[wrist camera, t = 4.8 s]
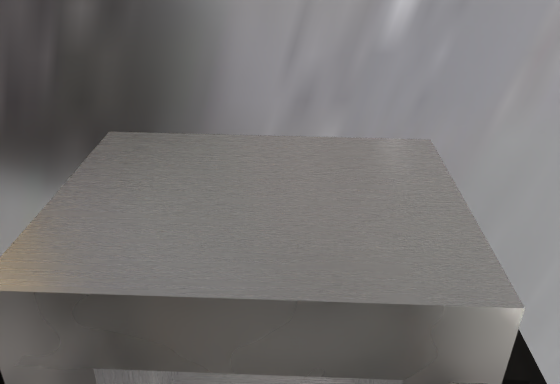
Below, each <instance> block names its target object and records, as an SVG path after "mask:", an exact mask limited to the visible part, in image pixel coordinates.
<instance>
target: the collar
mask: <svg viewBox="0 0 560 384" xmlns="http://www.w3.org/2000/svg"><path fill="white" fill-rule="evenodd" d="M524 310H525V308H524V306H523V304H522V302H521V300H520V299H519V297H518V295H517V293H516V291H515V290H514V288H513V286H512V284H511V283H510V281H509V279H508V277H507V275H506V274H505V272H504V270H503V268H502V266H501V265H500V263H499V261H498V259H497V257H496V256H495V254H494V252H493V250H492V249H491V247H490V245H489V243H488V241H487V240H486V238H485V236H484V234H483V232H482V231H481V229H480V227H479V225H478V224H477V222H476V220H475V218H474V216H473V215H472V213H471V211H470V209H469V207H468V206H467V204H466V202H465V200H464V199H463V197H462V195H461V193H460V191H459V190H458V188H457V186H456V184H455V182H454V181H453V179H452V177H451V175H450V174H449V172H448V170H447V168H446V166H445V165H444V163H443V161H442V159H441V157H440V156H439V154H438V152H437V150H436V148H435V147H434V145H433V143H432V141H431V140H426V139H386V138H346V137H306V136H266V135H226V134H186V133H146V132H108V134H107V135H106V136H105V137H104V138H103V139H102V141H101V142H100V143H99V144H98V145H97V146H96V147H95V149H94V150H93V151H92V152H91V153H90V154H89V156H88V157H87V158H86V159H85V160H84V161H83V163H82V164H81V165H80V166H79V167H78V168H77V169H76V171H75V172H74V173H73V174H72V175H71V176H70V178H69V179H68V180H67V181H66V182H65V183H64V185H63V186H62V187H61V188H60V189H59V190H58V191H57V193H56V194H55V195H54V196H53V197H52V198H51V200H50V201H49V202H48V203H47V204H46V205H45V207H44V208H43V209H42V210H41V211H40V212H39V213H38V215H37V216H36V217H35V218H34V219H33V220H32V222H31V223H30V224H29V225H28V226H27V227H26V229H25V230H24V231H23V232H22V233H21V234H20V235H19V237H18V238H17V239H16V240H15V241H14V242H13V244H12V245H11V246H10V247H9V248H8V249H7V251H6V252H5V253H4V254H3V255H2V256H1V257H0V371H1V373H2V376H3V379H4V382H5V384H502V381H503V377H504V374H505V371H506V368H507V365H508V361H509V358H510V355H511V352H512V348H513V345H514V342H515V339H516V336H517V332H518V329H519V326H520V323H521V319H522V316H523V313H524Z"/></svg>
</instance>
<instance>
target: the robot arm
mask: <svg viewBox="0 0 560 384" xmlns="http://www.w3.org/2000/svg"><path fill="white" fill-rule="evenodd" d="M0 384H5V382H4V379H3V376H2V373H1V371H0ZM502 384H547V383H546V381H545V379H544V377H543V375H542V373H541V372H540V370H539V368H538V366H537V364H536V362H535V360H534V358H533V356H532V354H531V352H530V350H529V348H528V346H527V344H526V342H525V341H524V339H523V337H522V335H521V333H520V331H519V329H518V332H517V336H516V339H515V342H514V345H513V348H512V352H511V355H510V358H509V361H508V365H507V368H506V371H505V374H504V377H503V381H502Z"/></svg>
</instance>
